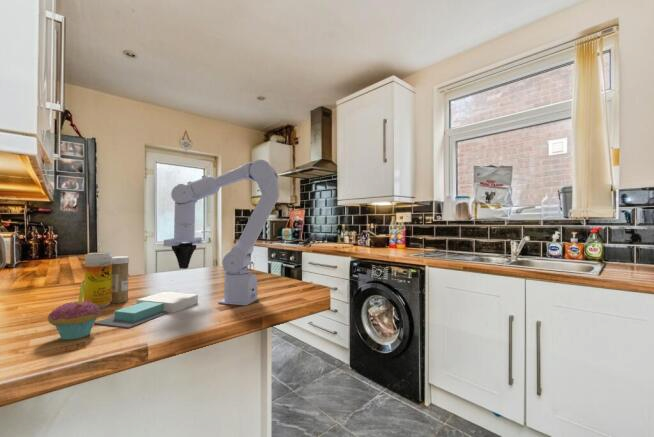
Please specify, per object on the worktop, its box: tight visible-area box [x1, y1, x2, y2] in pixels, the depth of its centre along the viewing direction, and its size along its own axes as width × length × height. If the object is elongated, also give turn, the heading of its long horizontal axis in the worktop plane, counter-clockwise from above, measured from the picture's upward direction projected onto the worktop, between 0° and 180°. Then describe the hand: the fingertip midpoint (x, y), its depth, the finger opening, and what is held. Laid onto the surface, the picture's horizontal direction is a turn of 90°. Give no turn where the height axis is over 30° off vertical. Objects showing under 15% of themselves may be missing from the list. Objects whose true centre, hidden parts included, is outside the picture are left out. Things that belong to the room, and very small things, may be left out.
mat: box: [93, 311, 170, 329], centre depth 75 cm, size 10×12×1 cm
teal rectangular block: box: [113, 302, 163, 322], centre depth 77 cm, size 6×9×2 cm, turn 166°
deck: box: [136, 291, 199, 314], centre depth 86 cm, size 12×10×2 cm
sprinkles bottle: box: [110, 255, 130, 304], centre depth 89 cm, size 5×5×14 cm
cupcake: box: [47, 279, 101, 341], centre depth 63 cm, size 9×8×12 cm
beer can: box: [83, 251, 113, 309], centre depth 84 cm, size 6×6×15 cm
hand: (183, 268), depth 92 cm, fingers closed
